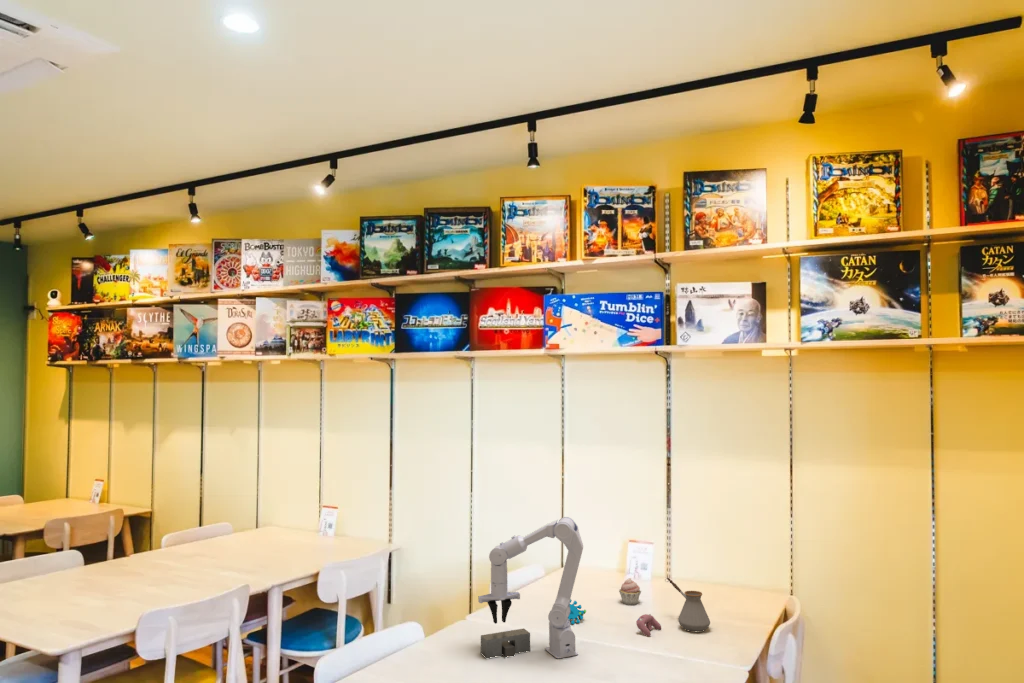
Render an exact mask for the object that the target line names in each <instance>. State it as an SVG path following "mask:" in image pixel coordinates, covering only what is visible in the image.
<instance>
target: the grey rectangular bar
mask: <svg viewBox="0 0 1024 683" xmlns="http://www.w3.org/2000/svg"><path fill="white" fill-rule="evenodd" d="M502 654H503V655H504V656H505V657H507V656H513V657H515V656H516V654H515V647H514V646H513V645H512V644H511V643H510V642H509V641H505V642H502ZM503 655H502V656H503ZM514 655H515V656H514ZM504 656H503V657H504ZM505 657H504V658H505ZM507 658H508V657H507Z"/></svg>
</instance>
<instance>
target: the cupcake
mask: <svg viewBox="0 0 1024 683" xmlns="http://www.w3.org/2000/svg"><path fill="white" fill-rule="evenodd" d="M618 592H619V594H620V598H621V602H622V603H623V604H625V605H628V606H629V605H630V606H634V605H637V604H638V603H639V600H640V595H641V593H642V590H641V587H640V586H639V585H638V584H637V582H635V581H634V580H632V578H631V577H630V578H628V579H626V580H624V583H622V584H621V587H620V589H619V590H618Z"/></svg>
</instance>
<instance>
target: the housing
mask: <svg viewBox="0 0 1024 683" xmlns="http://www.w3.org/2000/svg"><path fill="white" fill-rule="evenodd" d="M505 641H508V642H510V643H511V644H512V645H513V646H514V647H515V653H518V654H520V653H519V652H524V653H527V652H526V651H529V652H531V632H529V631H528V630H526V628H518V629H511V630H505V631H499V632H492V633H487V634H482V635H480V654H481V653H482V654H483V655H484V656H485V657H486V658H489V659H491V658H490V657H495V656H501V657H502V656H503V655H502V642H505ZM482 654H481V655H482ZM483 655H482V656H483ZM484 656H483V657H484ZM485 657H484V658H485ZM486 658H485V659H486ZM495 658H496V657H495Z"/></svg>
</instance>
